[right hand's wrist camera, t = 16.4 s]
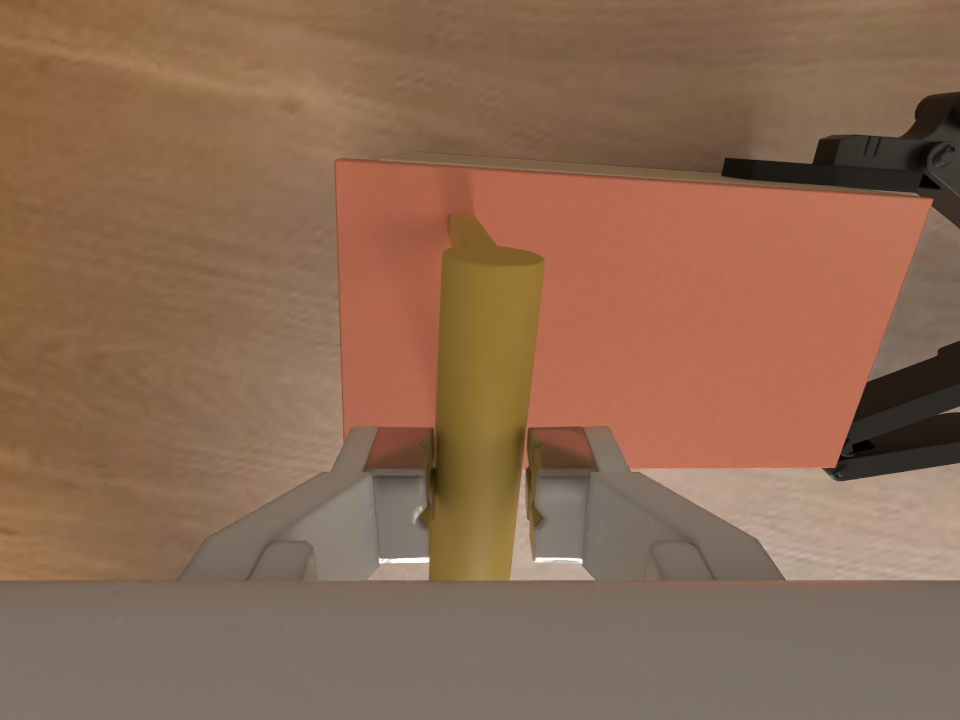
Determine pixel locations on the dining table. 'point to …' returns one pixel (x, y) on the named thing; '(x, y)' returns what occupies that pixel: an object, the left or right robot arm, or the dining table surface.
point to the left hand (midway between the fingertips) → (708, 293)
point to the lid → (605, 323)
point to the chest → (592, 169)
